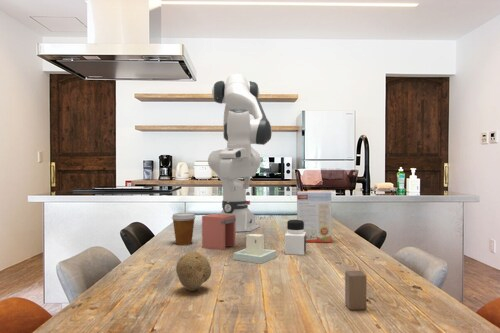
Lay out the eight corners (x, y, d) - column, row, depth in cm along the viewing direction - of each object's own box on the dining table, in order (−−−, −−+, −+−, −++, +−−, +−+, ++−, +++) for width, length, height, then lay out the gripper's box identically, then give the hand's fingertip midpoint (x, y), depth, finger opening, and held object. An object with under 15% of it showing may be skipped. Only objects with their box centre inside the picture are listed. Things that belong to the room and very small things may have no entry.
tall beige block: (251, 253, 144) (251, 233, 144) (263, 255, 142) (263, 234, 142) (246, 255, 141) (246, 235, 141) (258, 257, 139) (258, 236, 139)
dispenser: (215, 243, 167) (215, 213, 166) (235, 246, 161) (235, 215, 161) (201, 247, 159) (201, 216, 159) (223, 250, 154) (223, 217, 154)
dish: (249, 253, 149) (249, 247, 149) (276, 256, 143) (276, 250, 143) (233, 259, 140) (233, 253, 140) (261, 263, 134) (261, 257, 134)
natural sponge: (195, 282, 113) (195, 246, 113) (218, 289, 108) (218, 251, 108) (169, 290, 106) (169, 252, 106) (192, 298, 101) (192, 257, 101)
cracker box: (330, 240, 173) (330, 190, 173) (331, 243, 167) (331, 191, 167) (296, 239, 175) (297, 190, 174) (297, 242, 169) (297, 191, 168)
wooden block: (361, 304, 96) (361, 270, 96) (366, 310, 92) (367, 275, 92) (344, 304, 96) (344, 270, 96) (349, 310, 92) (349, 275, 92)
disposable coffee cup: (183, 246, 160) (183, 216, 160) (167, 243, 166) (166, 214, 166) (200, 243, 168) (200, 213, 167) (184, 240, 173) (184, 212, 173)
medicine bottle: (304, 255, 146) (304, 221, 146) (284, 254, 147) (284, 221, 147) (305, 250, 153) (306, 218, 153) (286, 250, 154) (286, 218, 154)
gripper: (245, 152, 162) (246, 186, 162) (216, 153, 144) (216, 192, 145) (260, 152, 158) (260, 187, 159) (231, 153, 141) (231, 193, 142)
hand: (239, 190), depth 152 cm, fingers open, 8 cm apart
